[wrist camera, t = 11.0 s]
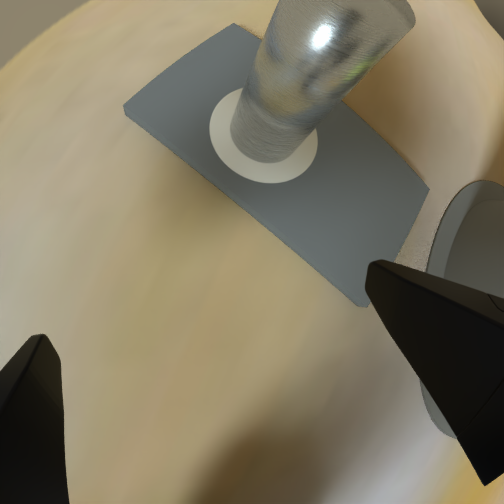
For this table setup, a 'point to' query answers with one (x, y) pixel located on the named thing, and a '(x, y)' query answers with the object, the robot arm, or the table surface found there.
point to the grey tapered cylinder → (469, 252)
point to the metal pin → (311, 68)
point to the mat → (287, 165)
